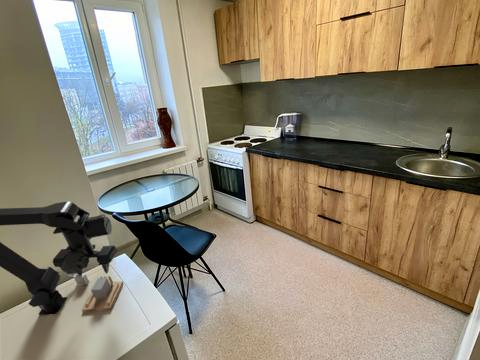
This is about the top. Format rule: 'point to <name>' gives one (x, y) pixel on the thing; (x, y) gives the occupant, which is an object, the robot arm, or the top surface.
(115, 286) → the wooden slotted rack
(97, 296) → the plug block
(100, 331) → the top surface
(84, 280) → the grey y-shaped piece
